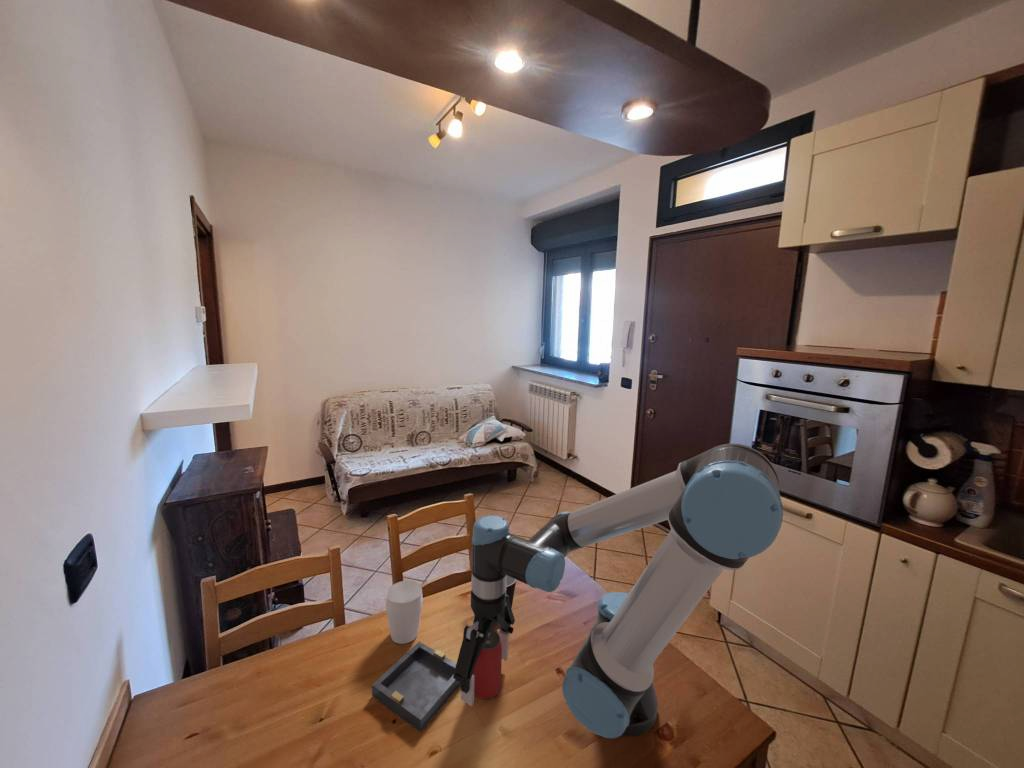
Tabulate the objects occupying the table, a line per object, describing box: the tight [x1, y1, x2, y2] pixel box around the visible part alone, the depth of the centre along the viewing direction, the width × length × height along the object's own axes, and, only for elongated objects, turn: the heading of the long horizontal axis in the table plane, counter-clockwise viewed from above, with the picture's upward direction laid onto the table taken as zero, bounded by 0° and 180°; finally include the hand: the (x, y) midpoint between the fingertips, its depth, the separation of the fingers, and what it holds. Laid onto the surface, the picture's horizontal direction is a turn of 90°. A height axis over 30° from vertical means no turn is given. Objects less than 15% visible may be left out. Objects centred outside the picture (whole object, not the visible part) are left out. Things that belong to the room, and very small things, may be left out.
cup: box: [385, 580, 424, 645], centre depth 101 cm, size 9×9×12 cm
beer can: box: [473, 629, 503, 700], centre depth 87 cm, size 7×7×12 cm
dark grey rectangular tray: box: [371, 641, 461, 733], centre depth 87 cm, size 14×14×4 cm
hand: (485, 678), depth 87 cm, fingers open, 12 cm apart
